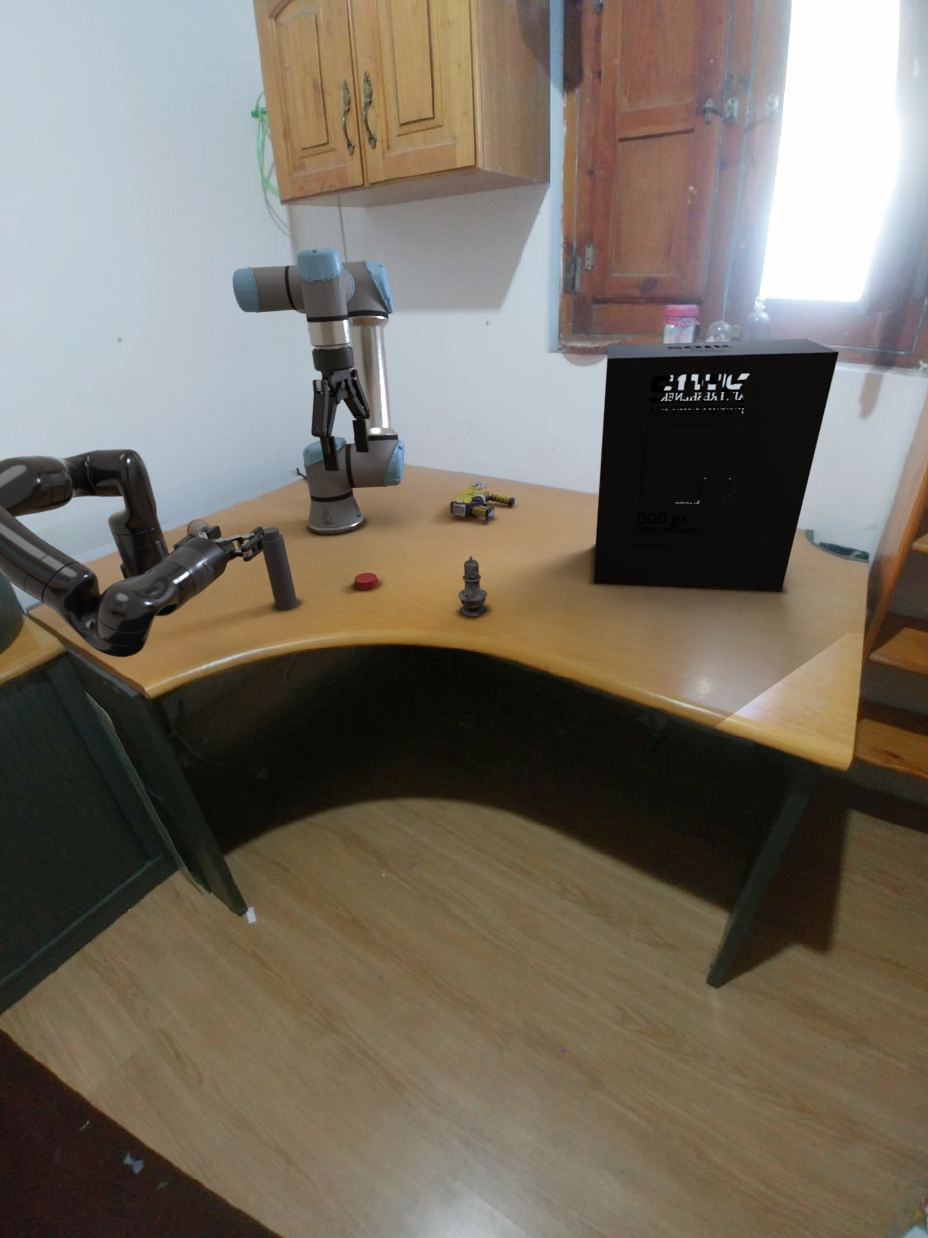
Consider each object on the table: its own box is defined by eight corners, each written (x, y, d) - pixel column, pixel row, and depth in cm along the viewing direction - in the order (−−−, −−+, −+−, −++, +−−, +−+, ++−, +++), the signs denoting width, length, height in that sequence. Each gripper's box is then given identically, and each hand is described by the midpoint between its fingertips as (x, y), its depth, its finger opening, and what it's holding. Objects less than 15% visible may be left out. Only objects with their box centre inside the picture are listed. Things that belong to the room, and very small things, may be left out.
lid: (375, 590, 133) (374, 582, 132) (352, 590, 134) (351, 582, 133) (380, 580, 138) (379, 572, 137) (358, 580, 138) (357, 572, 137)
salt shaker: (485, 617, 120) (483, 562, 114) (456, 616, 121) (452, 561, 115) (490, 603, 125) (488, 550, 119) (462, 602, 126) (459, 549, 120)
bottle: (278, 600, 131) (260, 526, 123) (299, 599, 131) (283, 525, 123) (274, 610, 127) (255, 535, 119) (295, 609, 128) (278, 533, 119)
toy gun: (523, 485, 181) (476, 478, 185) (501, 509, 161) (448, 500, 165) (521, 500, 184) (475, 493, 187) (499, 525, 163) (447, 517, 167)
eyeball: (200, 546, 160) (194, 525, 157) (185, 542, 163) (179, 521, 160) (219, 538, 165) (213, 517, 162) (204, 535, 168) (198, 514, 165)
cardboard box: (760, 550, 140) (805, 338, 118) (781, 591, 123) (838, 351, 101) (595, 545, 148) (608, 345, 125) (593, 582, 131) (607, 358, 108)
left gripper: (158, 588, 100) (210, 548, 114) (236, 591, 97) (280, 550, 111) (143, 546, 96) (199, 510, 110) (225, 548, 93) (271, 511, 107)
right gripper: (344, 339, 123) (358, 444, 133) (276, 355, 102) (300, 478, 113) (378, 338, 121) (390, 445, 131) (315, 354, 100) (336, 480, 111)
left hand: (240, 530), depth 110 cm, fingers open, 8 cm apart
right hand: (348, 460), depth 122 cm, fingers open, 13 cm apart
